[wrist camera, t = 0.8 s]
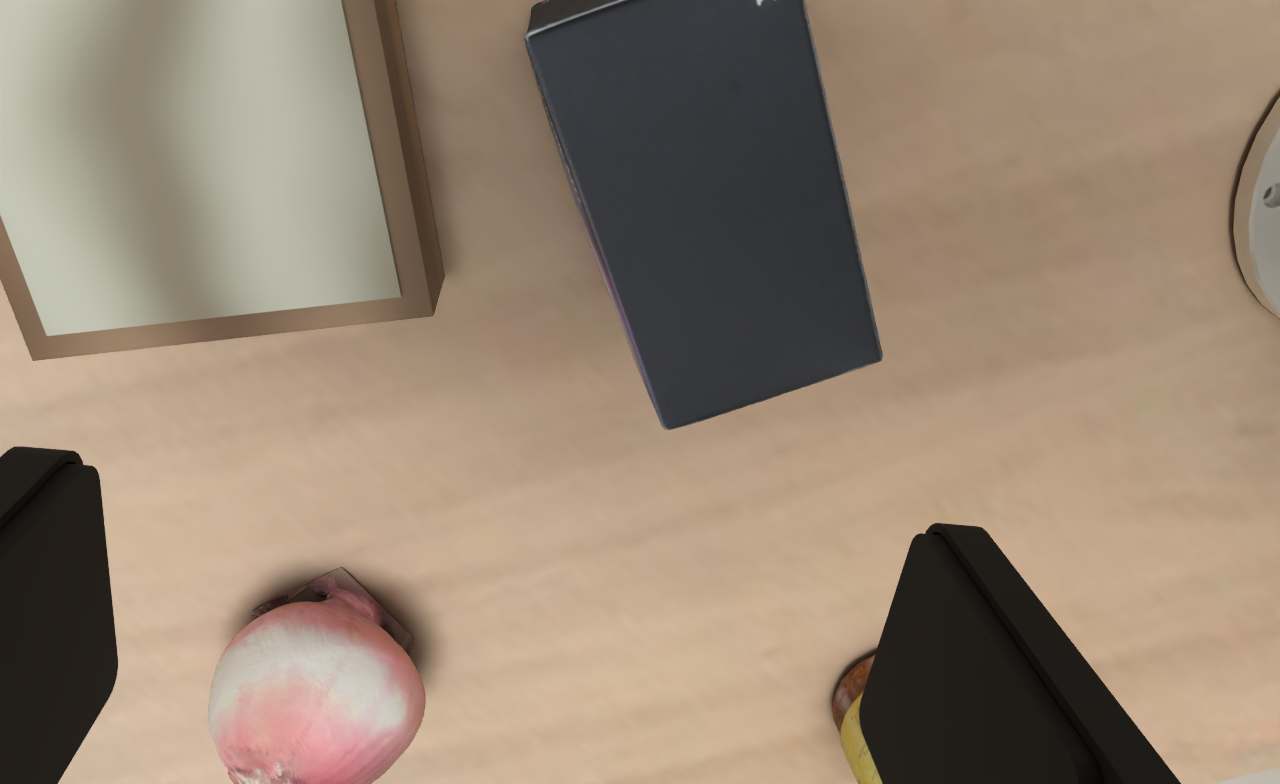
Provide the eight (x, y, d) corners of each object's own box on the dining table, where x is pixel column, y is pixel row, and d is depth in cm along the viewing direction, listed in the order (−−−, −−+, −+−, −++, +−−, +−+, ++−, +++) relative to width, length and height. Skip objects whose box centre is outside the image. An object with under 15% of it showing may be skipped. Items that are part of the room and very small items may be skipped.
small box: (514, 6, 29) (505, 27, 19) (712, -66, 29) (801, -80, 19) (622, 307, 33) (657, 443, 24) (793, 248, 33) (898, 361, 24)
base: (344, -281, 25) (310, -325, 21) (444, 276, 32) (432, 318, 28) (-111, -248, 25) (-231, -287, 21) (90, 315, 31) (28, 364, 28)
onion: (268, 697, 40) (154, 813, 33) (277, 539, 38) (156, 629, 31) (440, 748, 39) (358, 879, 32) (461, 589, 37) (377, 693, 30)
